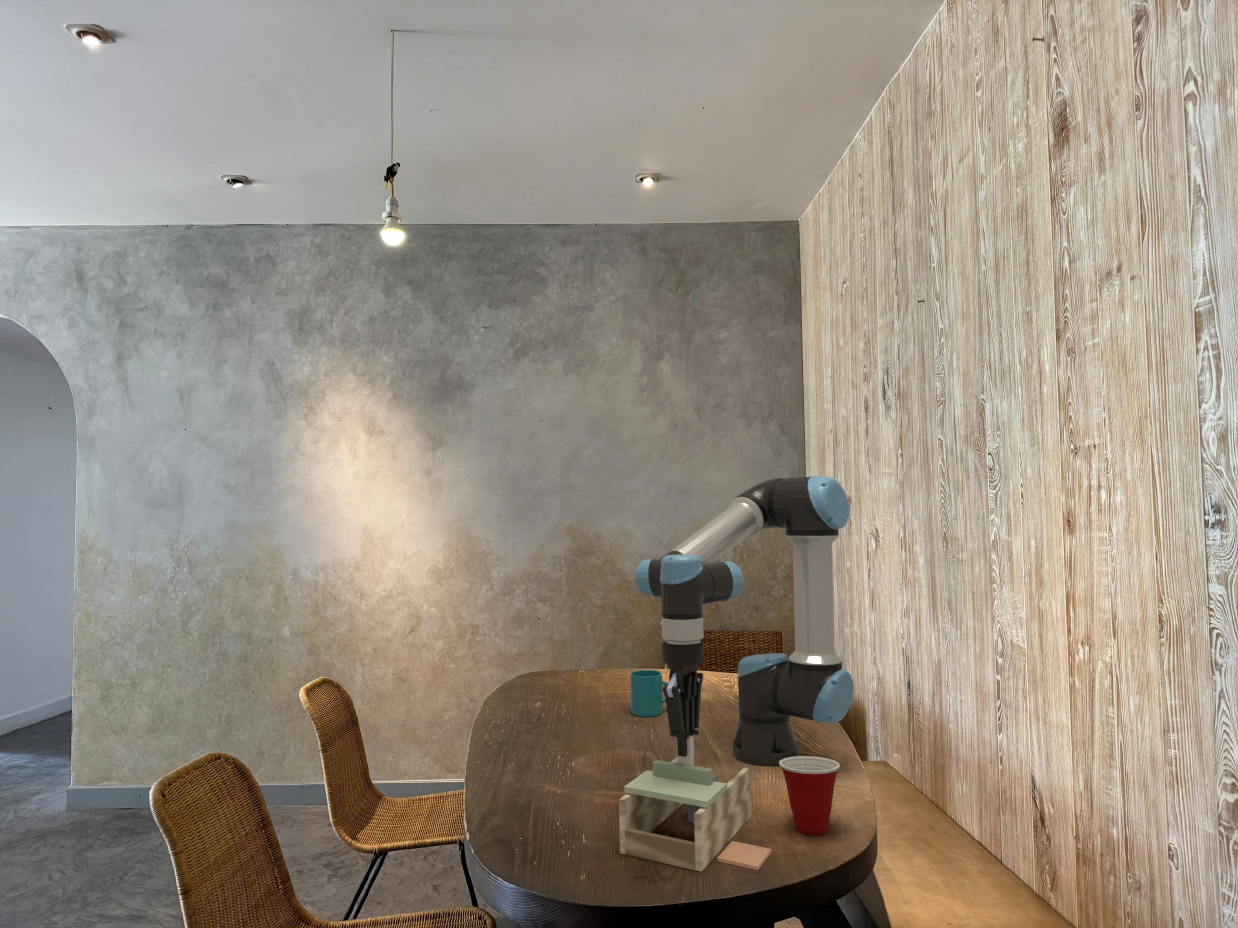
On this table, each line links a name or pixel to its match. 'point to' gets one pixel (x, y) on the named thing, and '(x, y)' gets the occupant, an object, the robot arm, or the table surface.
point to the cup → (647, 693)
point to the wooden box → (709, 826)
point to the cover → (678, 784)
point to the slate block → (693, 809)
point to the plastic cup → (810, 791)
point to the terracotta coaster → (744, 855)
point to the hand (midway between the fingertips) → (685, 772)
